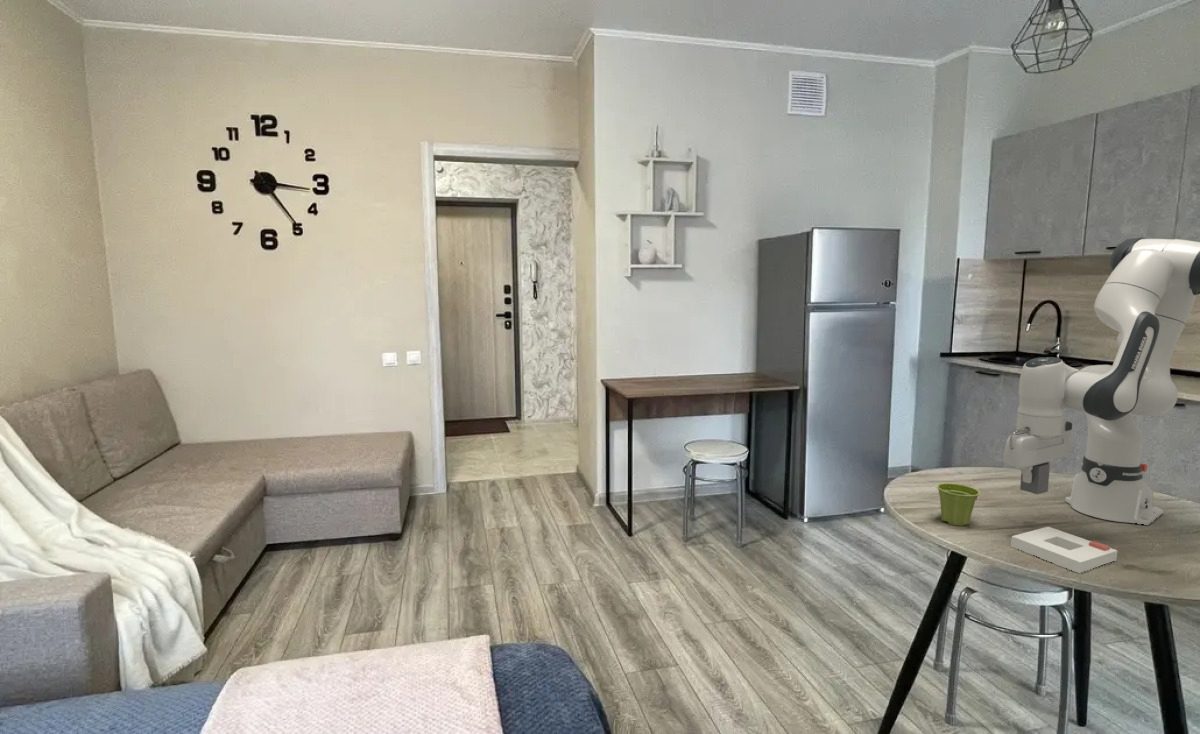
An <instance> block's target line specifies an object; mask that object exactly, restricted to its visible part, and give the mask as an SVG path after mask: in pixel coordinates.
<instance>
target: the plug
mask: <svg viewBox="0 0 1200 734" xmlns="http://www.w3.org/2000/svg"><path fill="white" fill-rule="evenodd" d="M1049 469H1050V470H1051V468H1050V464H1048V463H1042V464H1038V465H1034V466H1033V469H1032V470H1031V473H1032V475H1034V482H1031V483H1026V482H1023V474H1022V472H1021V471H1020V472H1021V474H1020V475H1021V476H1020V487H1019V490H1020V491H1024V492H1027V493H1031V494H1034V495H1041V494H1044V493H1048V492H1049V479H1050V470H1049Z"/></svg>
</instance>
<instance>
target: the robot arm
mask: <svg viewBox="0 0 1200 734" xmlns="http://www.w3.org/2000/svg"><path fill="white" fill-rule="evenodd" d="M1109 268H1110V270H1111V273H1110V275H1108V278H1107V279H1106V281H1105V283H1104V284H1103V285H1102V287H1101V288H1100V290H1099V291H1098V293H1097V296H1096V298H1095V300H1094V303H1093V310H1094V313H1095V315H1096V316H1097V318H1098V319H1099V321H1101V323H1103V324H1104V325H1106V326H1107V327H1109V328H1110V329H1112V330H1114V331H1116V332H1117V333H1118V335H1117V338H1116V343H1117V345H1118V350H1117V353H1116V355H1115V358H1114V360H1113V363H1112V365H1111V364H1095V365H1088V366H1087V365H1086V366H1085V367H1083V368H1081V369H1080V370H1079V369H1077V368H1075V367H1072V366H1069V365H1068V364H1066V363H1065V362H1064V361H1063V359H1061V358H1058V357H1053V356H1046V357H1036V358H1035V357H1034V358H1031V359H1029V360H1027V361H1026V362H1025V363H1024V364H1023V367H1022V369H1021V371H1020V377H1019V383H1018V384H1019V385H1018V397H1019V405H1018V408H1017V412H1016V413H1017V414H1016V429H1015V430H1013V432H1012V433H1011V434H1010V436H1008V438H1007V439H1006V442H1005V447H1004V452H1003V460H1002V461H1003V464H1004V466H1005V467H1007V468H1010V469H1015V470H1020V472H1022V474H1023V482H1026V483H1031V482H1034V475H1032V473H1031V470H1032V469H1033V466H1034V465H1038V464H1042V463H1048V464H1050V469H1049V471H1050V470H1051V467H1052V466H1053V461H1058V460H1062V459H1066V458H1067V457H1068V456H1069V455H1070V452H1071V447H1072V437H1073V436H1072V435H1073V434H1072V431H1073V430H1074V429H1075V422H1074V421H1071V420H1068V419H1065V418H1064V417H1063V416H1064V411H1063V410H1064V409H1068V410H1072V411H1073V412H1078V413H1082V414H1085V418H1086V422H1087V440H1086V447H1085V455H1084V456H1083V457H1082V460H1081V472H1078V473H1075V475H1074V479H1073V485H1072V489H1071V491H1070V492H1071V493H1070V496H1065V498H1064V502H1066V503H1067V504H1069V505H1070V507H1071V508H1072V509H1073V510H1075V511H1077V512H1078V513H1081V514H1084V515H1087V516H1090V517H1094V518H1097V519H1102V520H1105V521H1112V522H1119V523H1130V524H1135V523H1137V525H1141V524H1144V525H1143V526H1150V525H1151V524H1152V523H1153V522H1155V521H1156V520H1157V519H1158V518H1160V517H1161V516H1162V515H1163V514H1164V510H1163V509H1162V508H1160V507H1157V506H1155V505H1153V500H1154V491H1153V489H1152V488H1151V487H1149V485H1148V484H1147V483H1146V482H1145V481H1144V480H1143V476H1144V475H1143V474H1144V472H1146V471H1147V470H1148V464H1146V463H1141V460H1142V455H1143V454H1142V453H1143V447H1144V435H1143V432H1142V431H1141V429H1140V428H1139V427H1138V426H1137V424H1136V422H1135V419H1134V415H1135V416H1136V415H1137V416H1151V417H1153V416H1155V417H1156V416H1157V417H1158V416H1161V415H1165V414H1167V413H1169V412H1170V411H1171V410H1172V409H1173V408H1174V406H1175V405H1176V404H1177V401H1178V397H1179V392H1178V388H1177V386H1176V384H1175V383H1174V381H1172V378H1171V377H1172V376H1171V359H1172V355H1173V352H1174V349H1175V347H1176V345H1177V343H1178V340H1179V339H1180V336H1181V334H1182V331H1183V330H1184V329H1185V326H1186V323H1187V321H1188V319H1189V317H1190V315H1191V312H1192V309H1193V307H1194V303H1195V301H1196V296H1198V295H1200V242H1199V241H1194V240H1189V239H1180V238H1173V239H1170V238H1169V239H1168V238H1145V237H1131V238H1127V239H1125V240H1123V241H1122V242H1119V244H1117V246H1116V247H1115V248H1114V250H1113V252H1112V254H1111V256H1110V261H1109ZM1162 513H1163V514H1162ZM1161 514H1162V515H1161ZM1160 515H1161V516H1160ZM1159 516H1160V517H1159ZM1157 517H1158V518H1157ZM1156 518H1157V519H1156ZM1155 519H1156V520H1155ZM1154 520H1155V521H1154ZM1151 522H1152V523H1151ZM1150 523H1151V524H1150ZM1149 524H1150V525H1149Z"/></svg>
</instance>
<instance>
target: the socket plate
mask: <svg viewBox="0 0 1200 734" xmlns="http://www.w3.org/2000/svg"><path fill="white" fill-rule="evenodd" d="M1110 546H1111V545H1110ZM1110 546H1109V545H1107V544H1103V543H1101V542H1098V541H1097V540H1096V541H1095V540H1093V541H1091V540H1088V539H1085V538H1083V537H1079V536H1077V535H1074V534H1071V533H1067V532H1065V531H1063V530H1059V529H1056V528H1053V527H1051V526H1045V527H1042V528H1041V527H1040V528H1038V529H1034V530H1031V531H1030V530H1029V531H1027V532H1023V533H1019V534H1014V535H1012V536H1011V540H1010V547H1011V548H1013V549H1016V550H1018V549H1019V550H1018V551H1021V550H1022V551H1021V552H1023V551H1024V552H1023V553H1026V554H1028V553H1029V555H1031V554H1032V555H1031V556H1033V555H1035V556H1034V557H1036V556H1037V558H1038V557H1040V558H1039V559H1041V558H1042V559H1041V560H1043V559H1044V561H1046V560H1047V562H1048V563H1051V562H1052V563H1051V564H1054V565H1057V566H1059V567H1061V566H1062V568H1063V569H1066V568H1067V569H1066V570H1070V571H1071V570H1072V572H1074V573H1076V572H1078V573H1077V574H1081V572H1082V573H1085V572H1088V571H1091V570H1094V569H1096V568H1095V567H1097V568H1099V567H1098V566H1100V565H1103V564H1106V563H1109V562H1112V561H1115V562H1117V559H1118V558H1117V557H1118V550H1117V549H1114V548H1111V547H1110ZM1112 563H1113V562H1112ZM1109 564H1110V563H1109ZM1106 565H1107V564H1106ZM1103 566H1104V565H1103ZM1100 567H1101V566H1100ZM1093 568H1094V569H1093ZM1090 569H1091V570H1090ZM1087 570H1088V571H1087ZM1084 571H1085V572H1084Z"/></svg>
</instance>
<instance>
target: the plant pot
mask: <svg viewBox="0 0 1200 734" xmlns="http://www.w3.org/2000/svg"><path fill="white" fill-rule="evenodd" d="M936 488H937V489H938V494H939V499H940V500H939V502H940V516H941V517H940V518H941V519H940V520H942V521H943V522H947V523H948V524H949V525H954V526H959V527H960V526H961V527H963V526H966V525H967V526H968V525H969V524H970V521H971V517H972V514H973V510H974V506H975V503H976V501H977V498H978V497H979V496H980V494H981V491H979V489H977V488H974V487H971V486H969V485H965V484H961V483H954V482H944V483H943V482H942V483H938V484H937V485H936Z"/></svg>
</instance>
